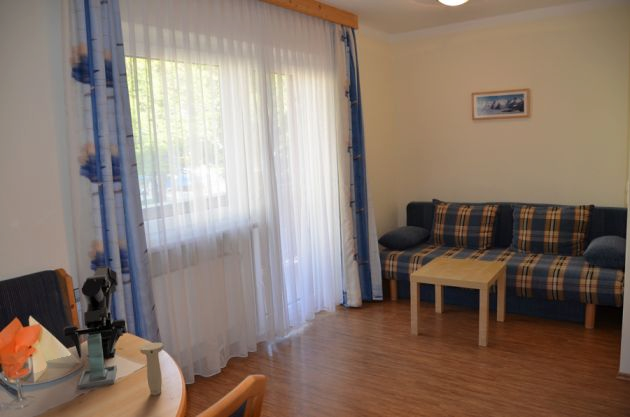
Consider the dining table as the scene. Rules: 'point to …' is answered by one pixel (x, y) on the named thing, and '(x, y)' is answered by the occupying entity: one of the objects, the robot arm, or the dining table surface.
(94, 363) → the teal green tall block
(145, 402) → the dining table surface
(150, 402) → the dining table surface
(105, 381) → the tray
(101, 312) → the robot arm
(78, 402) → the dining table surface
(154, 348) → the handle
